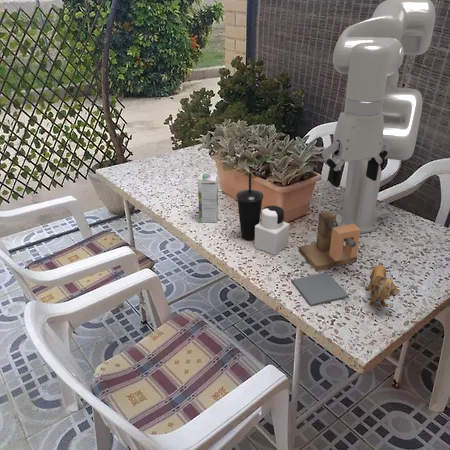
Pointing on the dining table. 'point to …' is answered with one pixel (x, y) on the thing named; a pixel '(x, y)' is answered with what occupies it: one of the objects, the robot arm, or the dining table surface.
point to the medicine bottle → (272, 230)
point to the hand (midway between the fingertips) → (352, 181)
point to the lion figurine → (381, 286)
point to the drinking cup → (249, 211)
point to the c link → (338, 239)
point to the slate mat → (319, 289)
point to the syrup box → (208, 197)
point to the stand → (325, 246)
